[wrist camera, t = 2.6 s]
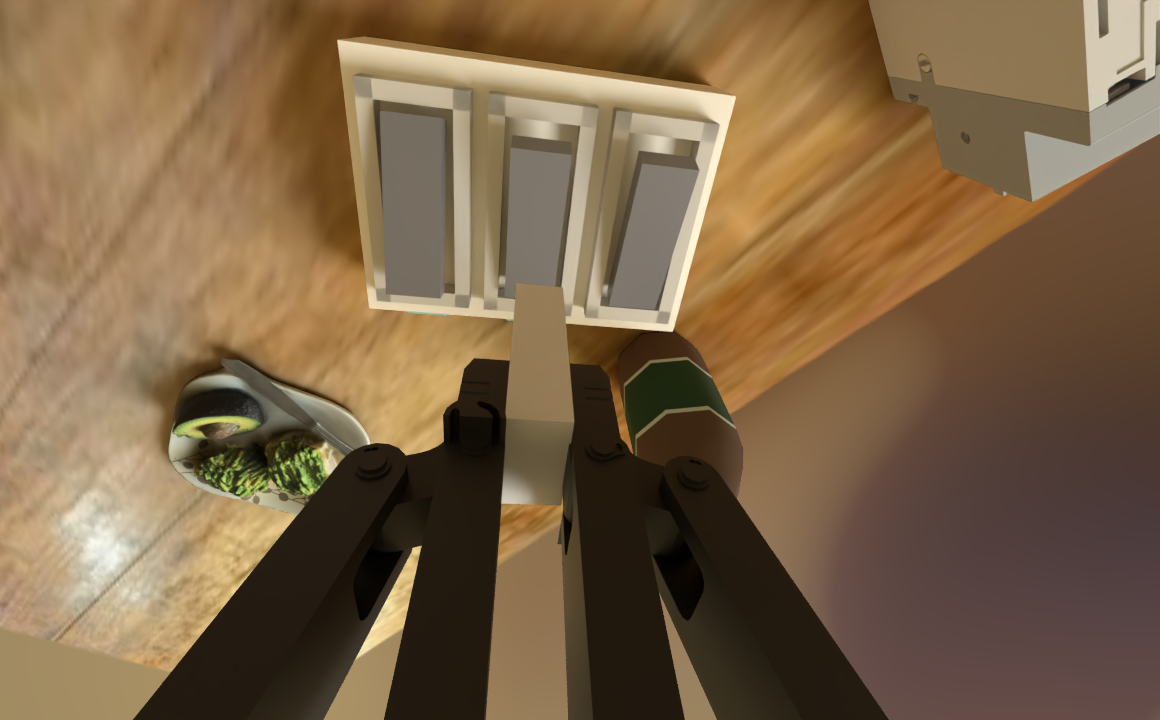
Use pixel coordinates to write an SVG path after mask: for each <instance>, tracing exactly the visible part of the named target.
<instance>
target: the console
mask: <svg viewBox="0 0 1160 720" xmlns="http://www.w3.org/2000/svg"><path fill="white" fill-rule="evenodd" d="M337 41H338V49H339V58H340V66H341V75H342V83H343V91H344V100H345V108H346V117H347V125H348V134H349V142H350V150H351V159H352V167H353V176H354V184H355V192H356V201H357V209H358V218H359V226H360V235H361V243H362V251H363V260H364V268H365V277H366V285H367V293H368V302H369V308H373V309H386V310H399V311H407V313H417V314H429V315H442V316H450V315H463V316H476V317H489V318H502V319H506V320H507V321H513V318H514V307H515V298H508V297H505V278H506V254H507V230H508V205H509V181H510V157H511V143H512V135H518V136H526V137H534V138H542V139H550V140H558V141H566V142H571V146H572V160H571V167H570V175H569V183H568V190H567V198H566V206H565V213H564V221H563V229H562V236H561V244H560V252H559V259H558V267H557V275H556V282H555V287H563V294H564V306H565V318H566V324H579V325H591V326H604V327H617V328H630V329H643V330H655V331H668V332H673V329H674V325H675V322H676V318H677V314H678V311H679V307H680V303H681V299H682V296H683V292H684V288H685V285H686V281H687V277H688V273H689V270H690V266H691V262H692V259H693V255H694V251H695V247H696V244H697V240H698V236H699V233H700V229H701V225H702V221H703V218H704V214H705V210H706V207H707V203H708V199H709V196H710V192H711V188H712V184H713V181H714V177H715V173H716V170H717V166H718V162H719V158H720V155H721V151H722V147H723V144H724V140H725V136H726V132H727V129H728V125H729V121H730V118H731V114H732V110H733V106H734V103H735V99H736V96H734V95H732V94H730V93H727V92H725V91H723V90H720V89H718V88H715V87H713V86H708V85H701V84H694V83H687V82H680V81H673V80H666V79H659V78H652V77H645V76H638V75H631V74H624V73H617V72H610V71H603V70H596V69H589V68H582V67H575V66H568V65H561V64H554V63H547V62H540V61H533V60H526V59H519V58H512V57H505V56H498V55H492V54H485V53H478V52H471V51H464V50H457V49H450V48H443V47H436V46H429V45H422V44H415V43H408V42H401V41H394V40H387V39H380V38H373V37H366V36H363V37H356V38H348V39H340V40H337ZM380 111H388V112H396V113H404V114H412V115H420V116H428V117H436V118H442V119H445V120H446V204H445V292H444V294H443V295H442V297H441V299H438V298H426V297H414V296H402V295H389V294H386V282H385V252H384V221H383V191H382V161H381V131H380ZM639 151H647V152H655V153H663V154H671V155H679V156H687V157H694V159H695V161H696V163H697V165H698V168H699V170H700V171H699V174H698V177H697V180H696V183H695V186H694V190H693V193H692V196H691V199H690V202H689V205H688V208H687V211H686V214H685V218H684V221H683V224H682V227H681V230H680V233H679V236H678V239H677V242H676V245H675V249H674V252H673V255H672V258H671V261H670V264H669V267H668V270H667V273H666V276H665V280H664V283H663V286H662V289H661V292H660V295H659V298H658V301H657V304H656V307H655V310H652V309H640V308H628V307H616V306H609V303H608V294H607V289H608V285H609V281H610V276H611V272H612V267H613V263H614V258H615V254H616V250H617V245H618V241H619V236H620V232H621V227H622V223H623V219H624V214H625V210H626V205H627V201H628V196H629V192H630V187H631V183H632V179H633V174H634V170H635V165H636V161H637V156H638V152H639Z"/></svg>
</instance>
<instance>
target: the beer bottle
mask: <svg viewBox="0 0 1160 720" xmlns="http://www.w3.org/2000/svg"><path fill="white" fill-rule="evenodd" d="M619 384H620V392H621V398H622V402H623V407H624V412H625V416H626V421H627V426H628V430H629V435H630V440H631V444H632V449H633V454H634V455H635V456H637V457H639V458H640V459H643V460H646V461H648V462H652V463H655V464H658V465H662V466H665V465H666V464H667V463H668V462H669V461H670V459H672V458H675V457H678V456H691V457H695V458H698V459H702V460H703V461H705V462H707V463H708V464H710V465H712V467H713V468H714V469H715V470H716V471H717V472H718V473H719V474H720V476H721V477H722V478H723V480H724V481H725V483H726V484H727V486H728V487H729V489H730V490H731V491H732V493H733V494H734V496H735V497H736V499H737V496H738V493H739V487H740V481H741V475H742V469H743V447H742V444H741V441H740V439H739V435H738V433H737V430H736V428H735V425H734V423H733V421H732V419H731V417H730V415H729V413H728V411H727V409H726V406H725V404H724V402H723V400H722V398H721V396H720V394H719V392H718V390H717V387H716V385H715V383H714V381H713V379H712V377H711V375H710V373H709V371H708V368H707V366H706V364H705V362H704V360H703V358H702V357H701V355H700V353H699V352H698V350H697V349H696V348H695V347H694V346H693V345H691V344H690V343H689V342H688V341H686V340H685V339H684V338H683V337H681V336H680V335H679V334H678V333H676V332H675V331H673V332H668V331H666V332H655V333H644V334H641V335H640V336H639V337H638V338H637V339H636V340H635V341H634V342H633V343H631V344H630V345H629V346H628V347H627V348H626V349H625V350H624V351H623V352H622V353H621V354H620V355H619Z"/></svg>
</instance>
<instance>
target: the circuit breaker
mask: <svg viewBox="0 0 1160 720" xmlns="http://www.w3.org/2000/svg"><path fill="white" fill-rule="evenodd" d="M868 2H869V5H870V9H871V13H872V17H873V21H874V24H875V28H876V32H877V36H878V40H879V43H880V47H881V51H882V55H883V59H884V63H885V66H886V70H887V74H888V78H889V81H890V85H891V89H892V93H893V96H894V99H895V100H899V101H903V102H907V103H913V102H914V101H916V100H918V105H920V106H924V107H927V108H929V111H930V115H931V120H932V124H933V128H934V133H935V137H936V141H937V145H938V150H939V154H940V158H941V163H942V167H943V168H944V169H946V170H949V171H951V172H954V173H957V174H959V175H962V176H964V177H967V178H970V179H972V180H975V181H977V182H980V183H983V184H985V185H988V186H990V187H993V189H994V192H995V193H997V194H1000V195H1002V196H1004V195H1006V194H1008V193H1009V194H1011V195H1014V196H1016V197H1019V198H1022V199H1024V200H1028V201H1031V202H1034V201H1035V200H1037V199H1039V198H1041V197H1043V196H1045V195H1047V194H1048V193H1050V192H1052V191H1054V190H1056V189H1058V188H1060V187H1061V186H1063V185H1065V184H1067V183H1069V182H1071V181H1073V180H1074V179H1076V178H1078V177H1080V176H1082V175H1084V174H1086V173H1087V172H1089V171H1091V170H1093V169H1095V168H1097V167H1099V166H1100V165H1102V164H1104V163H1106V162H1108V161H1110V160H1112V159H1113V158H1115V157H1117V156H1119V155H1121V154H1123V153H1125V152H1126V151H1128V150H1130V149H1132V148H1134V147H1136V146H1138V145H1139V144H1141V143H1143V142H1145V141H1147V140H1149V139H1151V138H1152V137H1154V136H1156V135H1158V134H1160V0H868Z"/></svg>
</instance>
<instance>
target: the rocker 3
mask: <svg viewBox="0 0 1160 720" xmlns="http://www.w3.org/2000/svg"><path fill="white" fill-rule="evenodd" d="M699 171H700V170H699V168H698V165H697V163H696V161H695V159H694V157H687V156H679V155H671V154H663V153H655V152H647V151H639V152H638V156H637V161H636V165H635V170H634V174H633V179H632V183H631V187H630V192H629V196H628V201H627V205H626V210H625V214H624V219H623V223H622V227H621V232H620V236H619V241H618V245H617V250H616V254H615V258H614V263H613V267H612V272H611V276H610V281H609V285H608V289H607V294H608V303H609V306H616V307H628V308H640V309H652V310H655V307H656V304H657V301H658V298H659V295H660V292H661V289H662V286H663V283H664V280H665V276H666V273H667V270H668V267H669V264H670V261H671V258H672V255H673V252H674V249H675V245H676V242H677V239H678V236H679V233H680V230H681V227H682V224H683V221H684V218H685V214H686V211H687V208H688V205H689V202H690V199H691V196H692V193H693V190H694V186H695V183H696V180H697V177H698V174H699Z"/></svg>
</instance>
